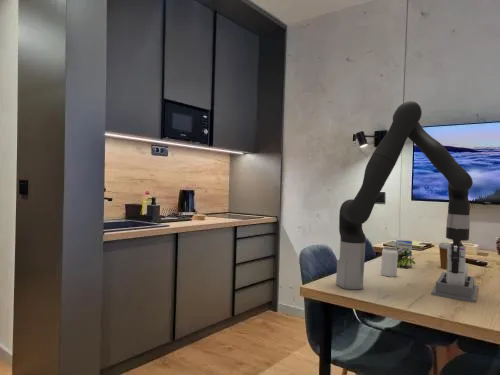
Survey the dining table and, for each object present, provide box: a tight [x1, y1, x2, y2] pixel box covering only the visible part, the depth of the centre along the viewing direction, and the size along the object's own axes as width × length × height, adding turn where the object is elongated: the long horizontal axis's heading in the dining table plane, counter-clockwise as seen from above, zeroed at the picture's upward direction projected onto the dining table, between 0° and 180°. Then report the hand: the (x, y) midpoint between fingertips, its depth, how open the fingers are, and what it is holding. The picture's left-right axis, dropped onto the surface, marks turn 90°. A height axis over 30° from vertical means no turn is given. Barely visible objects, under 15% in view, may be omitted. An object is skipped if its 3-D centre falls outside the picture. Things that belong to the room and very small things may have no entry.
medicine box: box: [395, 239, 413, 257], centre depth 219 cm, size 8×4×9 cm, turn 81°
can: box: [380, 246, 398, 278], centre depth 166 cm, size 6×6×12 cm
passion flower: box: [395, 247, 416, 269], centre depth 187 cm, size 11×11×12 cm
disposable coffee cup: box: [438, 242, 451, 270], centre depth 187 cm, size 10×10×12 cm
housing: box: [430, 262, 479, 304], centre depth 145 cm, size 24×14×12 cm, turn 147°
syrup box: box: [445, 244, 467, 286], centre depth 141 cm, size 6×6×14 cm
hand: (455, 271), depth 141 cm, fingers closed on syrup box, 6 cm apart
